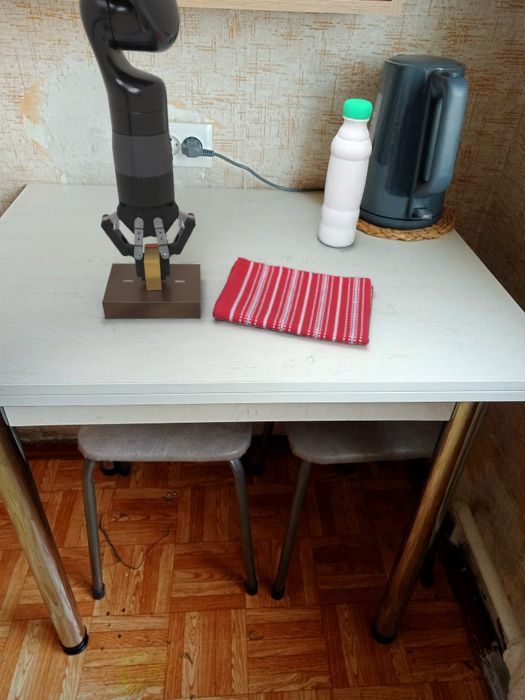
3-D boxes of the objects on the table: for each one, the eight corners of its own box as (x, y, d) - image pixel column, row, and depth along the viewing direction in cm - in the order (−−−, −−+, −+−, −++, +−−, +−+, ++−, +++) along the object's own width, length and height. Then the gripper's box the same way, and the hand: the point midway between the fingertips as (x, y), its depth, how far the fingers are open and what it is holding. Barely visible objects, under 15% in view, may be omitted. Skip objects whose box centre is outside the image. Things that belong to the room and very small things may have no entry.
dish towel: (237, 266, 89) (237, 253, 87) (373, 289, 86) (376, 275, 84) (208, 322, 76) (208, 308, 74) (367, 351, 73) (370, 336, 71)
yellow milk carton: (161, 290, 76) (159, 259, 73) (146, 290, 76) (143, 259, 73) (161, 272, 80) (159, 242, 77) (147, 273, 80) (144, 243, 76)
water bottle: (312, 243, 97) (332, 102, 81) (323, 228, 102) (343, 93, 86) (348, 252, 95) (375, 109, 79) (357, 236, 100) (384, 100, 84)
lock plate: (104, 319, 75) (101, 301, 73) (114, 279, 83) (112, 262, 81) (200, 318, 76) (200, 301, 74) (200, 279, 85) (200, 262, 83)
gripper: (85, 174, 63) (105, 293, 74) (199, 174, 65) (201, 289, 76) (91, 153, 68) (108, 266, 79) (195, 154, 70) (198, 263, 82)
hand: (154, 277), depth 77 cm, fingers closed on yellow milk carton, 2 cm apart
